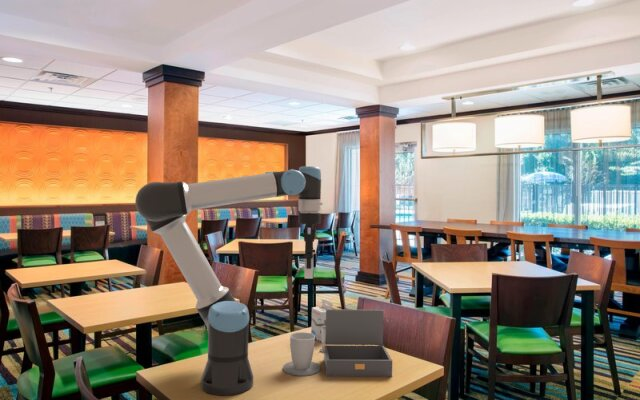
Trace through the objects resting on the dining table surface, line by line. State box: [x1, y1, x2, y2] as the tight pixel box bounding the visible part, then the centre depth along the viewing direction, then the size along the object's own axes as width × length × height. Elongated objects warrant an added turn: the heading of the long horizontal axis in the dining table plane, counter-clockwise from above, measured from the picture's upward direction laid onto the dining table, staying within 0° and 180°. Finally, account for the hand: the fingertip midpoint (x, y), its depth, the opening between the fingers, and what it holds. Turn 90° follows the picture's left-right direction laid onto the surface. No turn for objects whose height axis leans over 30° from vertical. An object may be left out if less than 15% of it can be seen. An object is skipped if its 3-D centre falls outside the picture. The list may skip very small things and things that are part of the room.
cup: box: [289, 331, 316, 369], centre depth 153 cm, size 8×8×10 cm
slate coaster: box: [282, 360, 321, 377], centre depth 152 cm, size 12×12×1 cm
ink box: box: [310, 298, 334, 343], centre depth 185 cm, size 9×5×15 cm, turn 30°
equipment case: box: [321, 308, 393, 378], centre depth 154 cm, size 22×16×17 cm
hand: (309, 274), depth 159 cm, fingers open, 13 cm apart
